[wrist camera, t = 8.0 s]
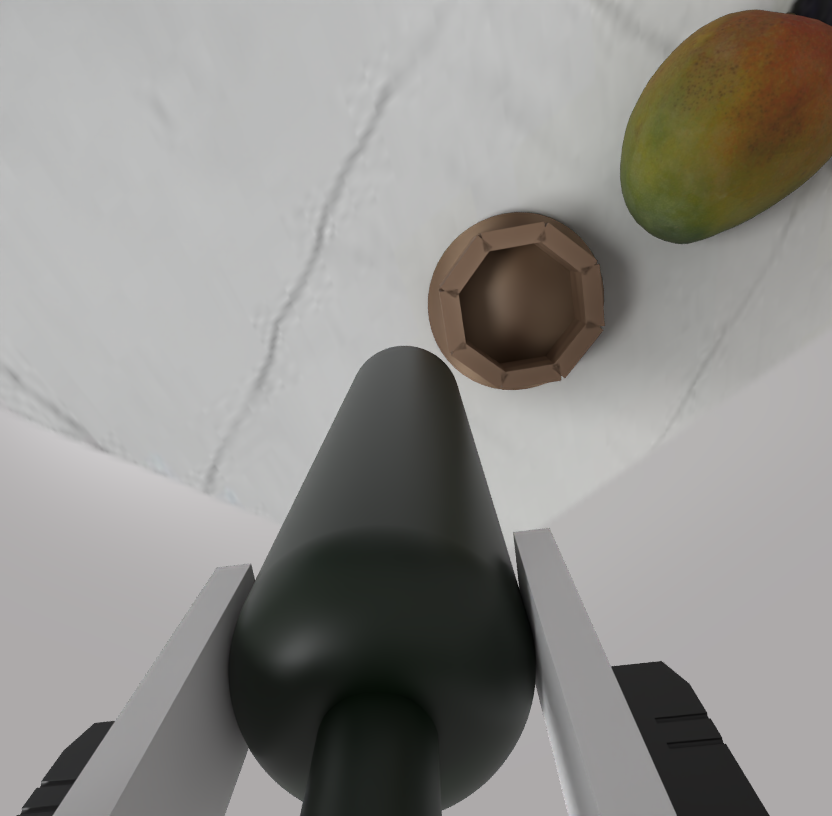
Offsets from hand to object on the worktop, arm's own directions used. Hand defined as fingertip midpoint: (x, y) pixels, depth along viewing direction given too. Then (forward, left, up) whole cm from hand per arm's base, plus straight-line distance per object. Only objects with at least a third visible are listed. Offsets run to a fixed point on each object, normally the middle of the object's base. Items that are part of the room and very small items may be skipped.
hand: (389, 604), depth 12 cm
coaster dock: (+8, +2, -31) cm, 32 cm away
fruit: (+21, +10, -31) cm, 39 cm away
